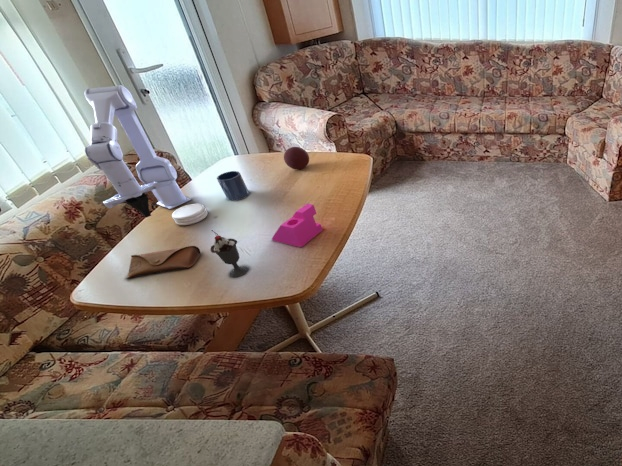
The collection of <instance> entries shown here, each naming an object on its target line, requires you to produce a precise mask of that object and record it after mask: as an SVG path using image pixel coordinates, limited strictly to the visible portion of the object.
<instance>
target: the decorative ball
mask: <svg viewBox="0 0 622 466" xmlns="http://www.w3.org/2000/svg"><path fill="white" fill-rule="evenodd" d="M283 160H284V162H285V164H286V165H287V166H288V167H289V168H291V169H293V170H303V169H306V167H307V166H308V165H309V162H310V155H309V153H308V152H307V151H306V150H305V149H304V148H303V147H299V146H291V147H289V148H287V149H285V151H284V154H283Z"/></svg>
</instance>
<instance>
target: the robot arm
mask: <svg viewBox="0 0 622 466" xmlns="http://www.w3.org/2000/svg"><path fill="white" fill-rule="evenodd" d="M84 97H85V99H86V101H87V102H88V104H89V105H90V106H91V107H92V108H93V114H94V122H93V123H92V124H91V125H90V134H89V135H90V136H89V137H90V138H89V139H90V140H89V144H88V145H87V146H86V147H85V148H84V154H85V155H86V157H87V159H88V161H89V162H90V163H92V164H93V165H95V167H96V168H97V169H98V170H99V171H102V172H103V174H104V176H105V177H106V178H107V180H108V181H109V182H110V184H111V186H113V189H115V191H116V192H117V194H115V195H114V196H112V197H110V198H108V199H106V200H103V201H102V203H103V205H104V206H105V208H107V209H112V208H114V206H117V205H119V204H121V203H125V204H127V205H129V206H130V207H132V208H133V209H134V210H136V211H137V212H139V213H140V215H142V216H143V217H144V218H149V217H151V216H152V214H151V211H150V207H149V195H148V194H147V193H149V192H152V194H153V195H154V197H155V198H156V200H157V201H158V202H156V205H157V206H161V207H163V208H165V209H168V210H172V209H175V208H176V207H178V206H181V205H184V204H185V203H188V202H190V201H191V200H192V198H190V197H187V196H185V195H184V193H183V191H182V189H181V188H180V186H179V184H178V183H177V181H176V180H177V178H178V173H177V170H176V168H175V167H174V165H173V164H172V163H171V161H170V160H169V159H168V158H164V157H162V156H158V155H157V154H156V152H155V149H154V148H153V146H152V144H151V142H150V140H149V138H148V136H147V134H146V133H145V131H144V129H143V126H142V125H141V122H140V121H139V118H138V116H137V115H136V112H135V111H136V110H137V109H138V105H137V103H136V101H135V99H134V96H133V94H132V93H131V91H130V90H129V89H127V88H126V87H125V86H124V85H122V84H118V85H112V86H103V87H102V86H101V87H94V88H89V87H87V88H85V90H84ZM115 117H117V119H118V121H119V123H120V125H121V127H122V129H123V130H124V132H125V134H126V137H127V138H128V140H129V142H130V143H131V146H132V147H133V149H134V151H135V153H136V155H137V157H138V159H139V161H138V162H137V163H136V165H135V170H136V172H137V177H138V179H139V180H140V181H141V183H142V185H140V184H139V182H138V180H137V179H136V177H135V176H134V174H133V173H132V171H131V170H130V167H128V165H127V164H126V161H124V159H123V158H124V154H123V151H122V149H121V145H120V144H119V143H118V129H117V127H116V126H115V125H114V118H115Z"/></svg>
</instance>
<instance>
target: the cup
mask: <svg viewBox="0 0 622 466" xmlns="http://www.w3.org/2000/svg"><path fill="white" fill-rule="evenodd" d="M216 180H217V183H218V184H219V186H220V188H221V191H222V192H223V193H224V195H225V197H226V200H228V201H233V202H235V201H240V200H242V199H245V198H247V197H248V196H249V195H250V190H249V189H248V187H247V185H246V183H245V181H244V178H243V176H242V174H241V172H240V171H237V170H231V171H227V172H223V173H221V174H219V175H218V176H217V177H216Z"/></svg>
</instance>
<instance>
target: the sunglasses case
mask: <svg viewBox="0 0 622 466" xmlns="http://www.w3.org/2000/svg"><path fill="white" fill-rule="evenodd" d="M200 257H201V249H200V248H199V247H198V246H196V245H189V246H184V247H179V248H171V249H163V250H159V251H153V252H148V253H147V252H146V253H142V254H132V255H130V262H129V269H128V273H127V275H126V278H125V279H127V280H128V279H132V278H137V277H141V276H142V277H143V276H148V275H154V274H161V273H166V272H167V273H168V272H174V271H178V270H184V269H188V268H189V269H190V268H191V267H194V265H195V264H196V262H197V261H198V260H199V258H200Z"/></svg>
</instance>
